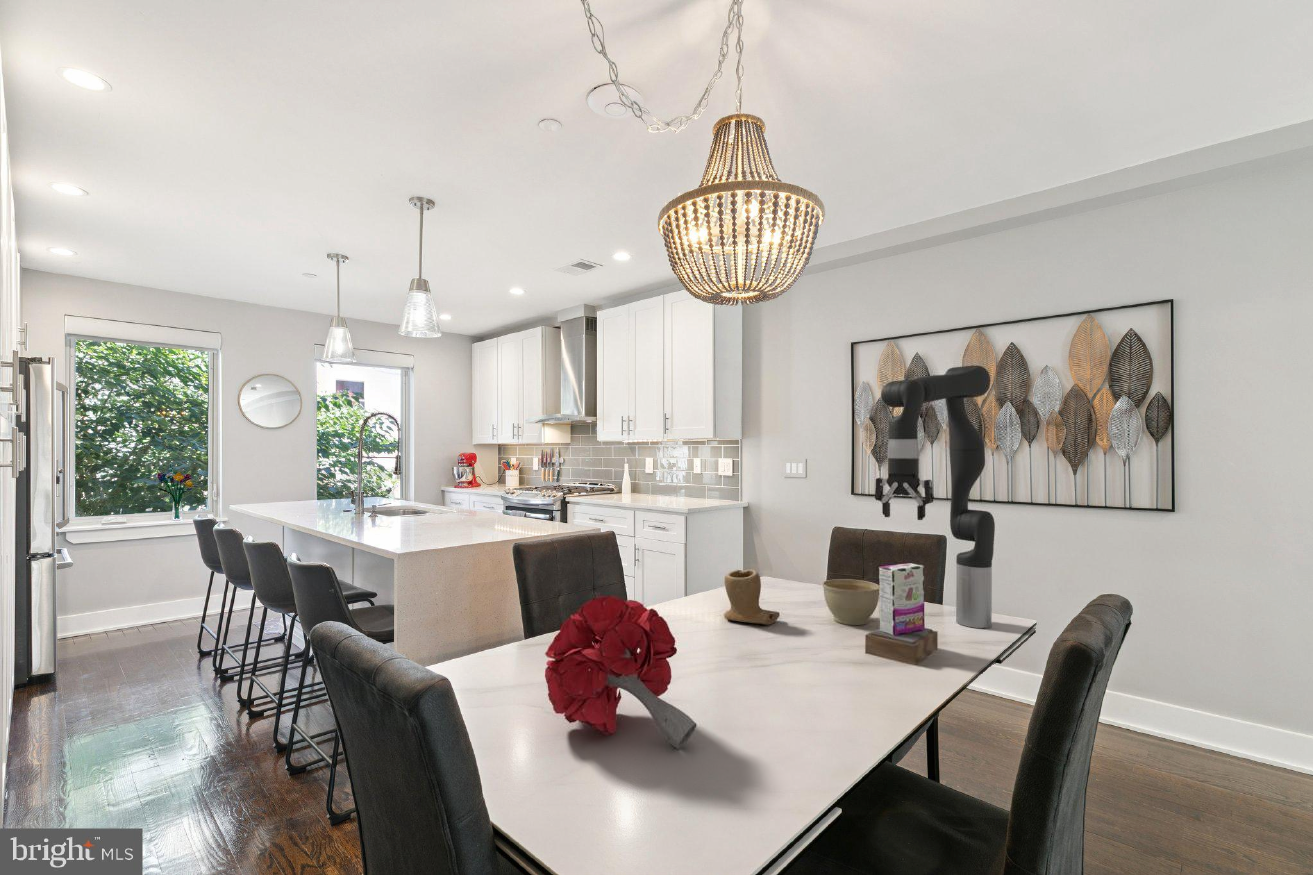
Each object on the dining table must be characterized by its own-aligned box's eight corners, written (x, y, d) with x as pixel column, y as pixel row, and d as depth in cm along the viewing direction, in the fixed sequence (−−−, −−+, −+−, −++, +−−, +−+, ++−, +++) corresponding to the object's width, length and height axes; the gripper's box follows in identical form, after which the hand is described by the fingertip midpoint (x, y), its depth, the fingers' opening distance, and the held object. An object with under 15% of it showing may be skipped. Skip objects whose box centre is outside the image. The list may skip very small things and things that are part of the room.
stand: (890, 638, 164) (890, 619, 164) (937, 649, 156) (937, 629, 156) (865, 653, 152) (865, 632, 152) (914, 665, 144) (914, 643, 144)
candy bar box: (909, 625, 159) (909, 562, 159) (925, 630, 155) (925, 565, 155) (877, 631, 154) (878, 565, 154) (893, 636, 150) (893, 569, 150)
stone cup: (716, 623, 177) (717, 571, 177) (732, 613, 187) (732, 564, 187) (766, 631, 169) (767, 577, 169) (780, 621, 180) (780, 569, 180)
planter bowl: (885, 619, 183) (885, 582, 183) (872, 633, 169) (873, 593, 169) (831, 611, 191) (831, 576, 191) (815, 623, 178) (815, 585, 178)
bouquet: (693, 751, 116) (586, 646, 130) (748, 657, 108) (627, 557, 122) (625, 815, 98) (509, 686, 112) (684, 709, 91) (551, 585, 104)
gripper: (870, 456, 162) (871, 517, 162) (926, 457, 153) (926, 522, 153) (881, 455, 168) (882, 514, 168) (936, 456, 158) (936, 519, 158)
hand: (903, 518), depth 160 cm, fingers open, 8 cm apart
